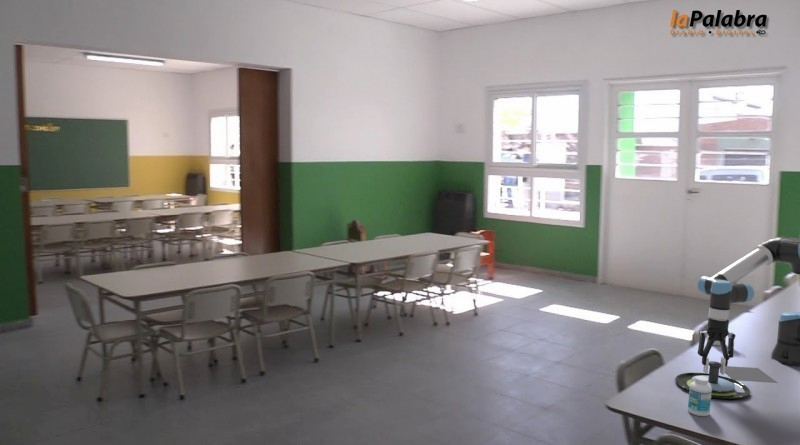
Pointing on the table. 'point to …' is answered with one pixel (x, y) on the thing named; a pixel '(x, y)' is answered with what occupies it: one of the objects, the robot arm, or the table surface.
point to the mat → (747, 374)
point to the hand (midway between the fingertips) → (713, 372)
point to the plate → (686, 380)
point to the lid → (717, 379)
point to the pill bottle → (700, 396)
